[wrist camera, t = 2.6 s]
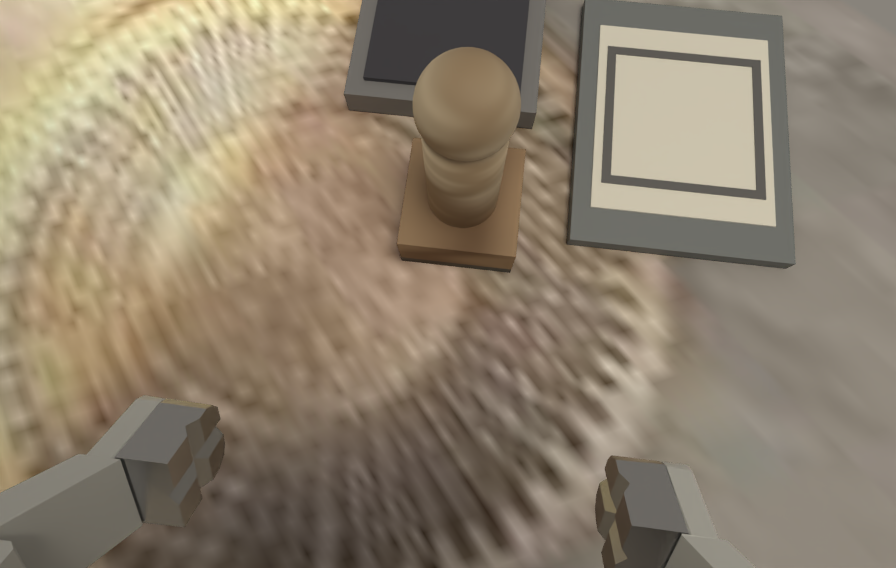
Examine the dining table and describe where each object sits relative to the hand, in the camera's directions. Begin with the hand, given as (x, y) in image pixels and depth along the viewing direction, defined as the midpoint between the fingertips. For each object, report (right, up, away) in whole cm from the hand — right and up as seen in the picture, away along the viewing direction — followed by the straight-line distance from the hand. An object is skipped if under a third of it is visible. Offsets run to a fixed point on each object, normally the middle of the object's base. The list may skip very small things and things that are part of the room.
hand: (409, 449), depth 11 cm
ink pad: (+1, +18, +21) cm, 28 cm away
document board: (+14, +13, +20) cm, 28 cm away
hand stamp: (+2, +7, +19) cm, 20 cm away
